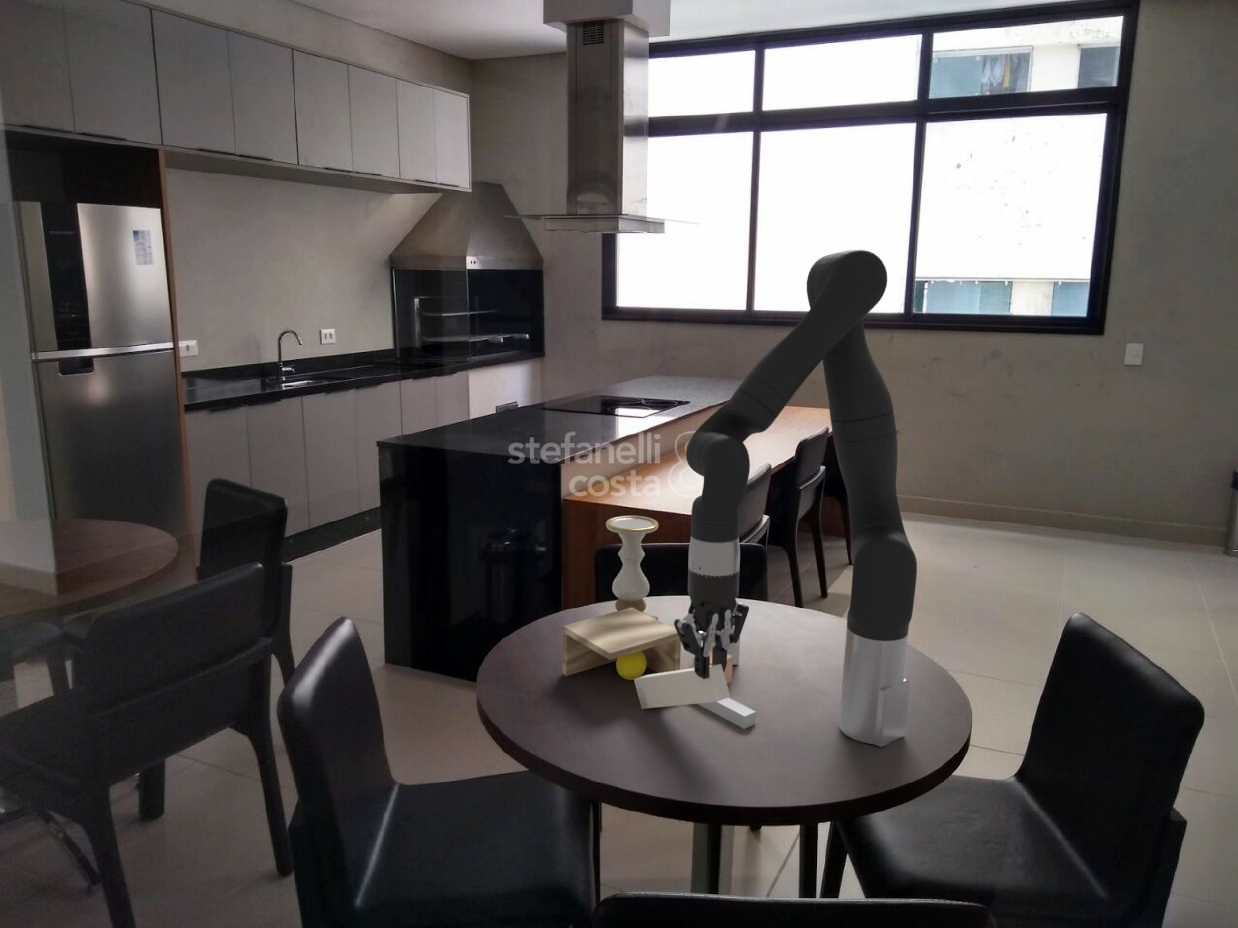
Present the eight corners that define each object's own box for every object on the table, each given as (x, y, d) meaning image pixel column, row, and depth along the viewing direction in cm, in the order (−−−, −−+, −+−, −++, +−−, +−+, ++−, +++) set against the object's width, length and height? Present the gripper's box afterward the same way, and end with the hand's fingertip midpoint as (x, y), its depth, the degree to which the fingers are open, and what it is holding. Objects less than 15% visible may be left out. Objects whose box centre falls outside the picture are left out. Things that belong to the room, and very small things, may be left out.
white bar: (758, 685, 136) (749, 653, 137) (717, 701, 131) (708, 668, 132) (680, 694, 152) (672, 665, 153) (641, 708, 147) (633, 679, 148)
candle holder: (595, 644, 172) (596, 527, 167) (611, 623, 182) (613, 512, 177) (649, 652, 169) (652, 532, 164) (663, 630, 179) (666, 517, 174)
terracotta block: (731, 681, 157) (732, 655, 156) (716, 692, 153) (717, 665, 152) (707, 673, 160) (708, 648, 159) (692, 683, 156) (693, 657, 155)
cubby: (679, 679, 158) (681, 631, 156) (609, 704, 148) (610, 653, 146) (631, 652, 169) (632, 607, 167) (562, 673, 159) (562, 625, 157)
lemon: (640, 689, 155) (639, 663, 153) (611, 684, 157) (610, 658, 155) (651, 668, 161) (651, 642, 159) (623, 663, 163) (623, 638, 161)
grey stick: (755, 725, 143) (755, 711, 142) (744, 730, 141) (744, 716, 141) (694, 693, 153) (695, 680, 153) (683, 698, 152) (684, 684, 151)
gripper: (695, 581, 123) (692, 696, 127) (765, 562, 131) (761, 670, 135) (661, 567, 129) (659, 677, 132) (730, 550, 137) (726, 654, 141)
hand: (710, 673), depth 134 cm, fingers closed on white bar, 2 cm apart
